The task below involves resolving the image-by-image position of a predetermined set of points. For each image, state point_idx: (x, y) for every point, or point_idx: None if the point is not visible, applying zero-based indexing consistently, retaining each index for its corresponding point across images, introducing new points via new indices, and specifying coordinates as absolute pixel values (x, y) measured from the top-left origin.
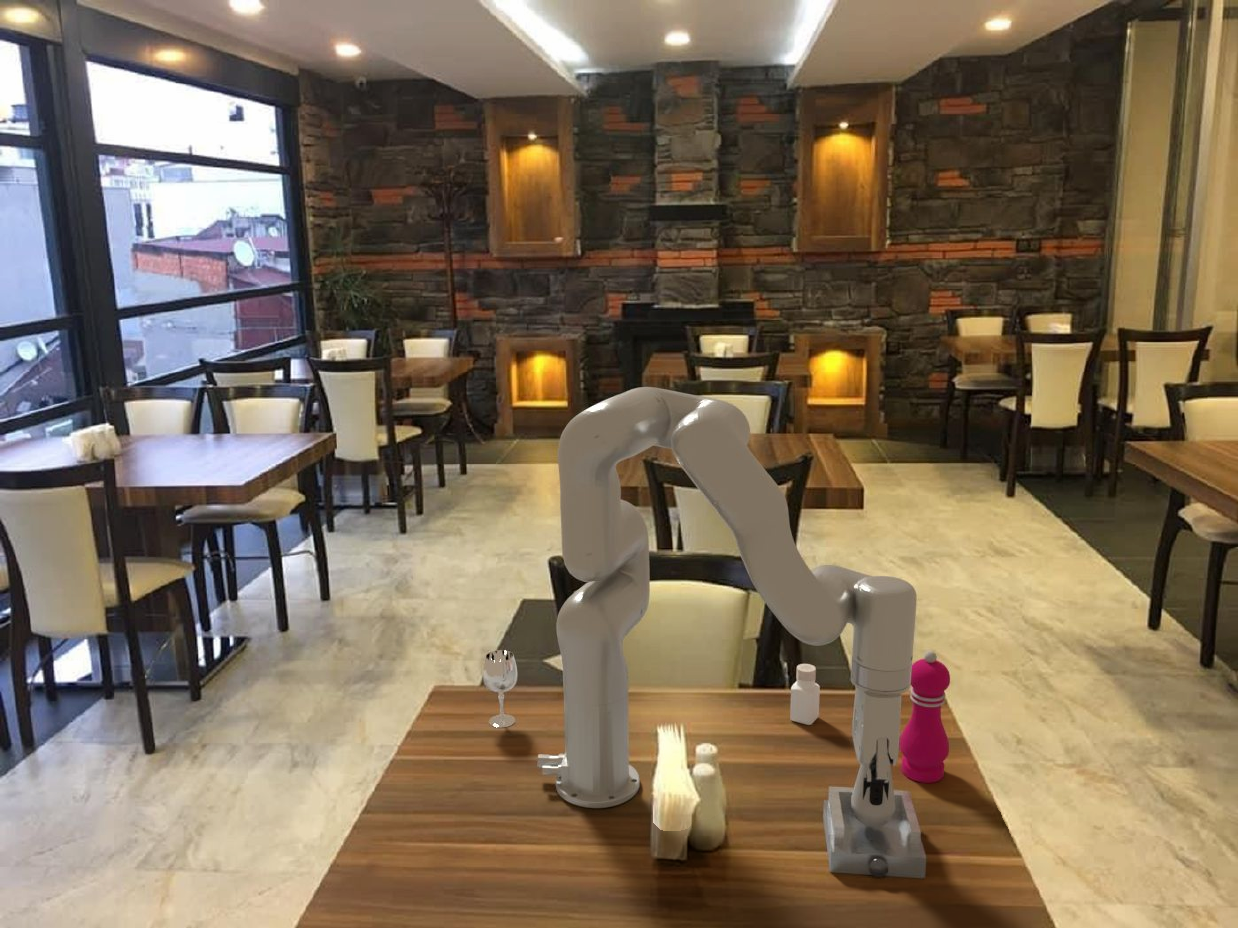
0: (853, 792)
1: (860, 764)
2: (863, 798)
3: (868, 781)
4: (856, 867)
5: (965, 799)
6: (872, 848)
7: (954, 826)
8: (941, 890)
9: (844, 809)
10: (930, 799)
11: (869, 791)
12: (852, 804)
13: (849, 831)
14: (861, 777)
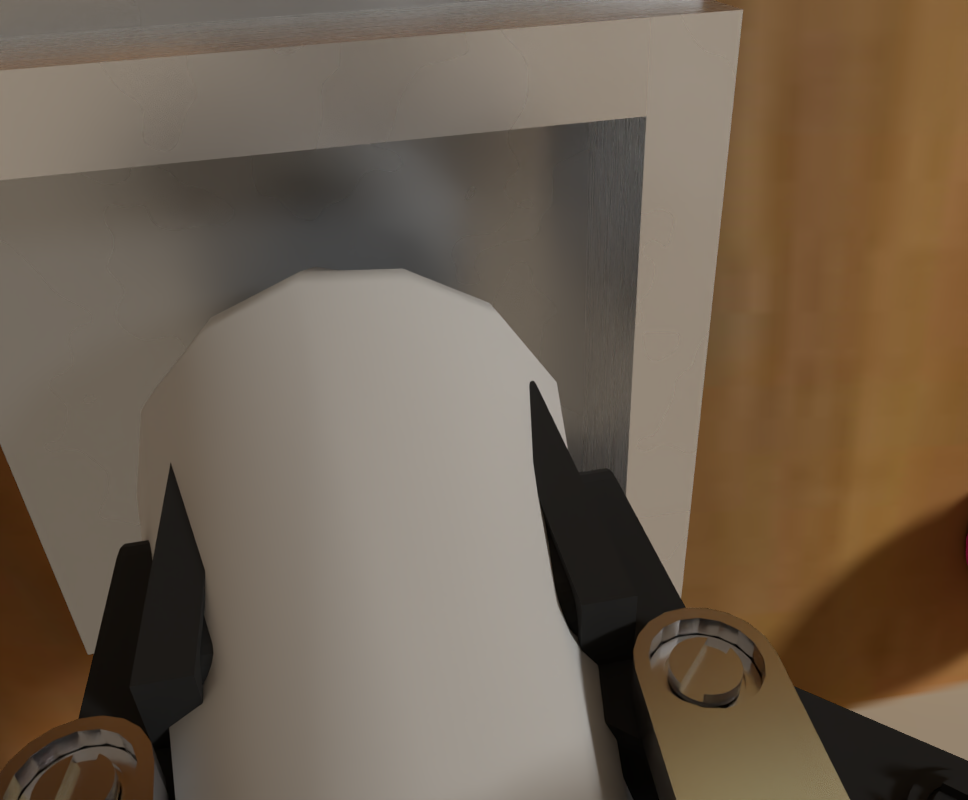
0: (351, 349)
1: (618, 578)
2: (166, 485)
3: (8, 782)
4: None
5: (818, 667)
6: (56, 359)
7: None
8: (37, 622)
9: (566, 136)
10: (829, 549)
11: None
12: (270, 297)
13: (239, 181)
14: (262, 613)
